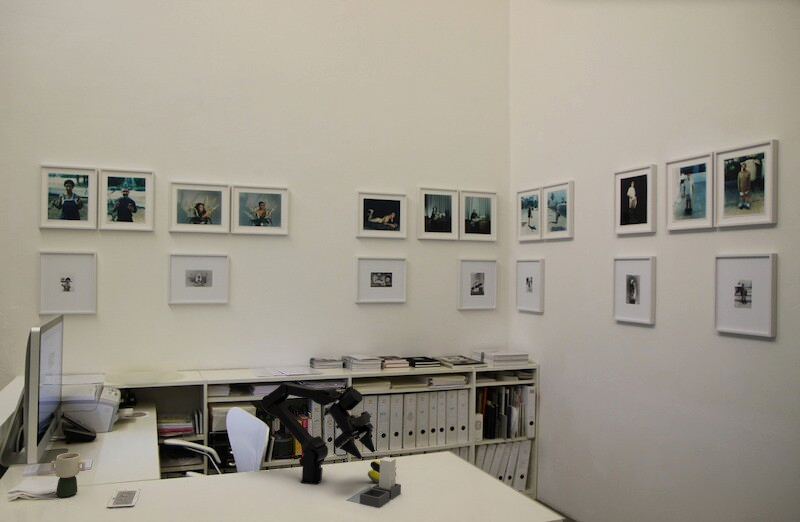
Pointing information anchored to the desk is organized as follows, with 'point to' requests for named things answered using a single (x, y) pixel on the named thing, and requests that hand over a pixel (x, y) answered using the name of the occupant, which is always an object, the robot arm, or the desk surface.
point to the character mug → (67, 473)
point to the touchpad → (124, 498)
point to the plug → (387, 473)
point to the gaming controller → (375, 471)
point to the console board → (376, 495)
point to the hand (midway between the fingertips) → (367, 455)
